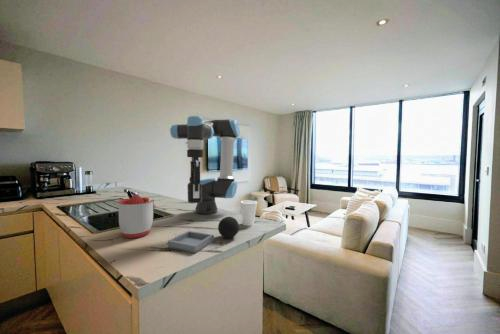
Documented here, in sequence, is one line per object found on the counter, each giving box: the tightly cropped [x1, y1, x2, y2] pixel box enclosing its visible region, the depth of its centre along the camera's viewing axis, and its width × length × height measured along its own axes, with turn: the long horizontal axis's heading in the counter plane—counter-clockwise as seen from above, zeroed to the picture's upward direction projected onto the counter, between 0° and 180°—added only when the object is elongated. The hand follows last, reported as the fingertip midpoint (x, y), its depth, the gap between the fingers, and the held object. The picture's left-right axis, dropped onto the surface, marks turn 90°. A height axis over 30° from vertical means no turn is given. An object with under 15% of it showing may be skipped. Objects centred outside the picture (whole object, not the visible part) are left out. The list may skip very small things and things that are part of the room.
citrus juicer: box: [117, 193, 158, 239], centre depth 108 cm, size 16×17×20 cm
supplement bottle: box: [187, 176, 202, 204], centre depth 106 cm, size 7×7×12 cm
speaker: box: [217, 216, 240, 239], centre depth 105 cm, size 10×10×10 cm
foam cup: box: [240, 199, 258, 227], centre depth 126 cm, size 10×9×13 cm
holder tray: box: [167, 230, 215, 255], centre depth 97 cm, size 14×14×3 cm
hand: (194, 196), depth 106 cm, fingers closed on supplement bottle, 7 cm apart
